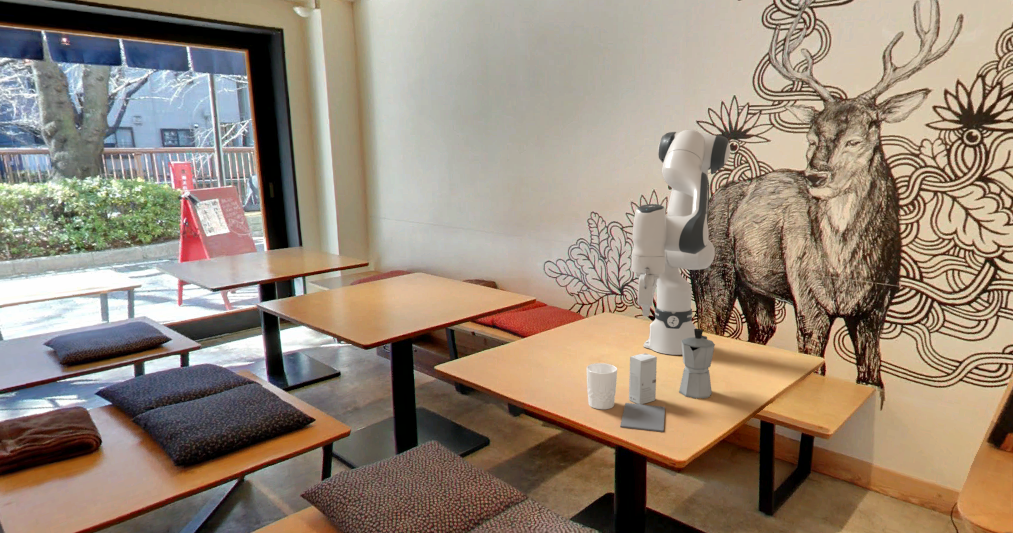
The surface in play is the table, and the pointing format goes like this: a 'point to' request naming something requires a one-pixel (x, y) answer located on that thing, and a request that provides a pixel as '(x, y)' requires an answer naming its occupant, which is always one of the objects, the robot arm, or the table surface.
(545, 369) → the table surface
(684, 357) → the coffee maker
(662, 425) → the mat
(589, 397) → the white cup
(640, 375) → the skincare box
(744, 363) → the table surface
